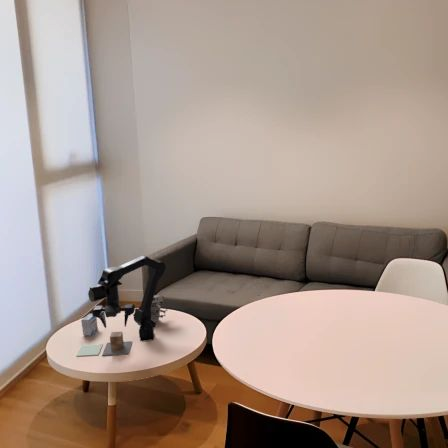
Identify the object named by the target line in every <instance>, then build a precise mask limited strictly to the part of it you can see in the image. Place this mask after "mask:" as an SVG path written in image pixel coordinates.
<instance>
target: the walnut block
mask: <svg viewBox="0 0 448 448" xmlns="http://www.w3.org/2000/svg"><path fill="white" fill-rule="evenodd" d="M123 334H124V333H123V331H111V333H110V335H109V341H110V342H109V343H110V344H111V351H114V350H122V349H123V345H124V343H123V342H124V335H123Z"/></svg>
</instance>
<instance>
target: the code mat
mask: <svg viewBox="0 0 448 448" xmlns="http://www.w3.org/2000/svg"><path fill="white" fill-rule="evenodd" d="M123 343H124V345H123V349H122V350H114V351H111V344H110V342H106V345H105V347H104V349H103V352H102V354H101V356H102V357H107V356H110V357H111V356H122V355H123V356H127V355H128V356H129V354H130V351H131V347H132V344H133V341H132V340H129V341H123Z"/></svg>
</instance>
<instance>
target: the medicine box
mask: <svg viewBox="0 0 448 448" xmlns="http://www.w3.org/2000/svg"><path fill="white" fill-rule="evenodd" d="M97 318H98V317H96V316H93V315H92V313H87V314H86V316H84V317H83V318H82V319H81V328H82V335H83V336H92V335H94V334H95V332H96V331H97V330H98V329H99V328H98V327H99V326H98V319H97Z"/></svg>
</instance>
